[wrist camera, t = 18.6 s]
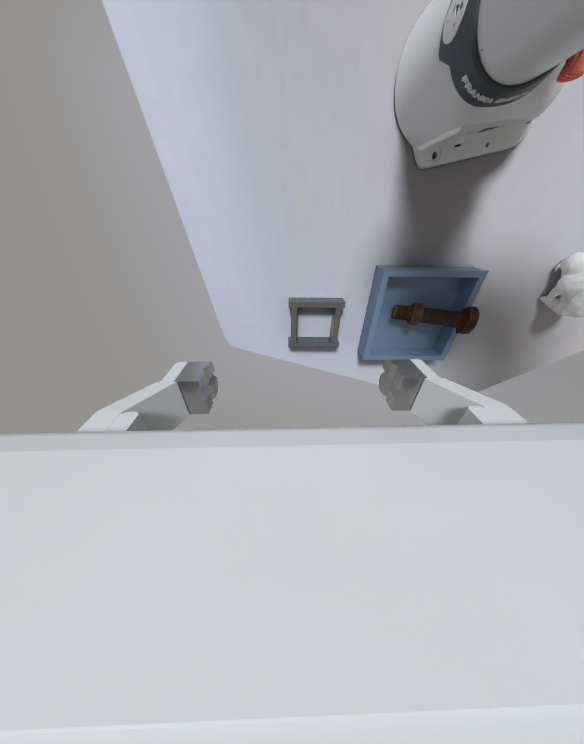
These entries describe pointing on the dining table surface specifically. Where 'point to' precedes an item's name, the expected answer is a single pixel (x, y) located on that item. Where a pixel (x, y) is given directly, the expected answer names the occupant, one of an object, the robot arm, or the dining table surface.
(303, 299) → the bracket
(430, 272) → the tray
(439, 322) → the bolt
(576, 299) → the white figurine
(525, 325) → the dining table surface
